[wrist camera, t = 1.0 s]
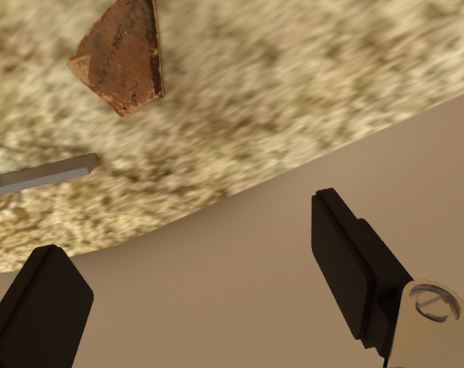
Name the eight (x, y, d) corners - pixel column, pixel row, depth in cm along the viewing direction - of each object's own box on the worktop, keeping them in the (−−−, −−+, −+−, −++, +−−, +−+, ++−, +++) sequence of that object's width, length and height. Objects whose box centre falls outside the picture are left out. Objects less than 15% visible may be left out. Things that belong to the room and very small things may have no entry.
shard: (151, -37, 22) (148, -40, 21) (215, 45, 26) (216, 48, 24) (66, 59, 25) (59, 63, 23) (135, 121, 29) (132, 128, 27)
